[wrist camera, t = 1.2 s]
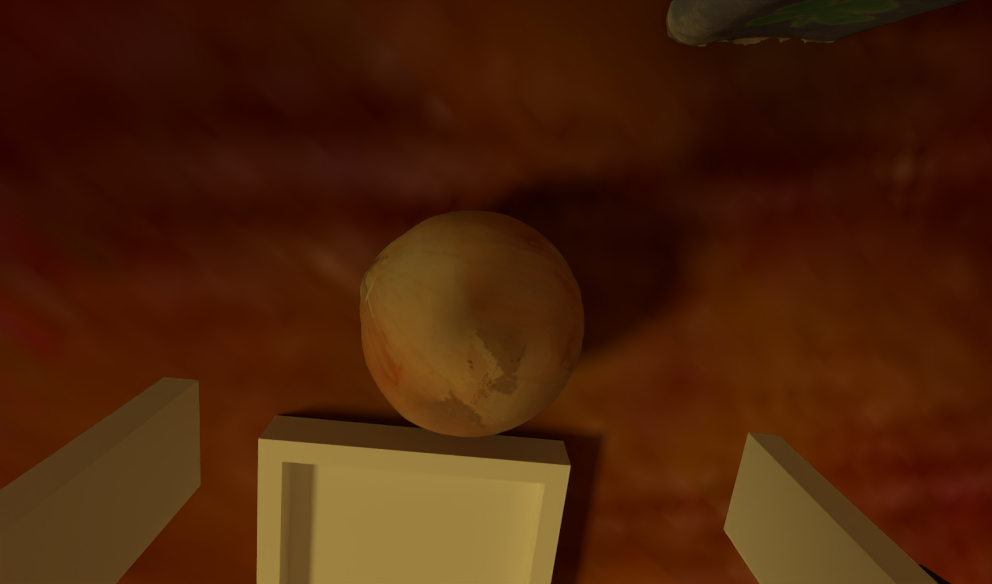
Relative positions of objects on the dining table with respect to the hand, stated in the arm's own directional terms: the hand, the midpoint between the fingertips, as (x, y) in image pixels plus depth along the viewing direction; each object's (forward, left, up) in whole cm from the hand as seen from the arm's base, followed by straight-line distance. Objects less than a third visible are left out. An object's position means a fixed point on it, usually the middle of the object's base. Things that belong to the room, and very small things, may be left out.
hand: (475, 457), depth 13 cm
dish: (-2, -16, -16) cm, 23 cm away
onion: (0, 0, -16) cm, 16 cm away
